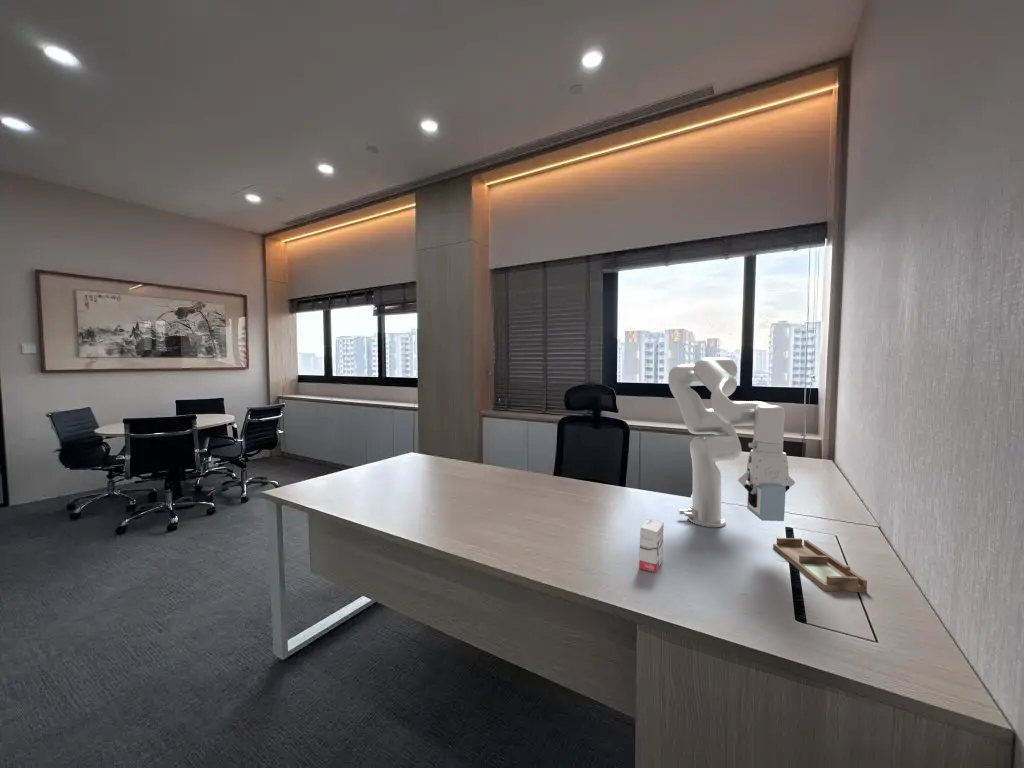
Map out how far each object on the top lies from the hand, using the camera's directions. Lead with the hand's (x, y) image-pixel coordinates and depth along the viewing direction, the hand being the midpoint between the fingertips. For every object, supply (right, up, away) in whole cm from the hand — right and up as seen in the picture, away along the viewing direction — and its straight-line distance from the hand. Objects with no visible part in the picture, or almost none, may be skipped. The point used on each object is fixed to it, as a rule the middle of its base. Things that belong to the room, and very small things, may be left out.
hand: (765, 505), depth 123 cm
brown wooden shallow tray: (+10, -16, -7) cm, 20 cm away
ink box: (-35, -16, -4) cm, 39 cm away
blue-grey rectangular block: (0, -3, 0) cm, 3 cm away
